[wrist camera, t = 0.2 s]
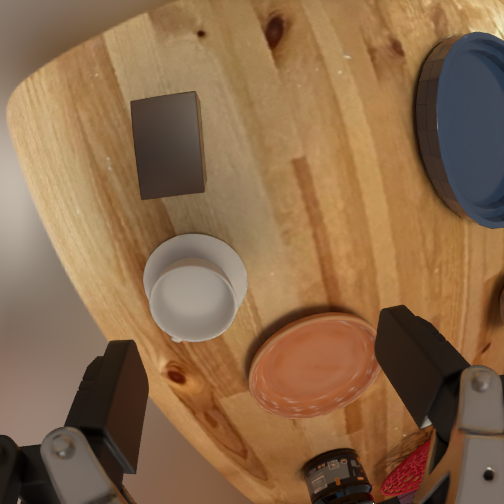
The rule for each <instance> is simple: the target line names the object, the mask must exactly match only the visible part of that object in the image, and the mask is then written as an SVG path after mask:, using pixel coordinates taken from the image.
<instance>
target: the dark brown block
mask: <svg viewBox="0 0 504 504" xmlns="http://www.w3.org/2000/svg"><path fill="white" fill-rule="evenodd" d="M130 104H131V117H132V128H133V138H134V148H135V157H136V165H137V173H138V181H139V188H140V195H141V200H147V199H154V198H162V197H170V196H178V195H186V194H194V193H203V192H205V188H206V182H207V175H206V165H205V154H204V143H203V131H202V119H201V106H200V100H199V98H198V95H197V93H196V91H192V92H184V93H177V94H170V95H163V96H157V97H151V98H145V99H139V100H134V101H131V102H130Z"/></svg>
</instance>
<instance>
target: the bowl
mask: <svg viewBox="0 0 504 504" xmlns="http://www.w3.org/2000/svg"><path fill="white" fill-rule="evenodd" d="M430 443H431V439H430V440H428V441H427V442H425V443H424V444H423V445H421V446H420V447H419V448H417V449H416V450H415V451H414V452H413V453H412V454H411V455H410V456H408V457H407V458H406V459H405V460H404V461H403V462H402V463H401V464H400V465H399V466H397V467H396V468H395V469H394V470H393V471H392V472H391V473H390V474H389V475H388V476H387V478H386V479H385V480H384V482H383V483H382V485H381V488H380V490H381V493H382V494H384V495H385V496H393V495H400V494H403V493H407V492H410V491H412V490H415V489H418V488H419V486H420V485H419V486H416V485H417V484H420V483H421V481H420V480H422V478H423V477H422V475H423V474H424V472H423V471H424V470H425V466H426V462H427V457H428V453H429V448H430ZM412 471H413V472H412ZM404 475H406V476H405V477H404V478H403V479H400V478H401V477H403V476H404ZM412 475H414V476H413V477H412V478H411V479H410V480H409V481H407V482H404V481H405V480H406V479H407V478H408V477H410V476H412ZM418 476H420V477H419V478H418V479H417V480H416V481H414V482H412V481H413V480H414V479H415V478H416V477H418ZM399 479H400V480H399ZM392 481H393V482H392ZM396 482H397V483H396ZM400 482H402V483H401V484H400V485H398V484H399V483H400ZM395 483H396V484H395ZM388 484H389V485H388ZM404 484H405V486H404V487H403V488H400V487H401V486H402V485H404ZM407 484H408V485H407ZM391 485H392V486H391ZM397 485H398V486H397ZM390 486H391V488H390V489H388V488H389V487H390ZM410 486H412V488H411V489H409V490H407V489H408V487H410ZM415 486H416V487H415ZM386 488H387V490H386V491H385V492H383V491H384V490H385V489H386ZM392 490H394V491H393V492H392V493H389V492H390V491H392ZM397 490H400V491H399V492H396V493H395V491H397ZM403 490H405V491H403Z"/></svg>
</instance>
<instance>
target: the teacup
mask: <svg viewBox="0 0 504 504" xmlns="http://www.w3.org/2000/svg"><path fill="white" fill-rule="evenodd" d="M143 283H144V289H145V293H146V295H147V298H148V300H149V308H150V312H151V315H152V317H153V319H154V321H155V322H156V324H157V325H158V326H159V327H160V328H161V329H162V330H163V331H164V332H166V333H167V334H169V335H170V336H171V340H172V341H174V342H178V343H179V342H181V340H183V341H189V342H201V341H206V340H210V339H213V338H215V337H217V336H219V335H220V334H222V333H223V332H224V331H226V330H227V329H228V328H229V326H230V325H231V324H232V322H233V320H234V318H235V315H236V311H237V310H238V308H239V307H240V306H241V304H242V302H243V300H244V298H245V295H246V291H247V283H248V280H247V273H246V269H245V266H244V264H243V262H242V260H241V259H240V257H239V256H238V254H237V253H236V252H235V251H234V250H233V249H232V248H231V247H230V246H229V245H227V244H226V243H224V242H223V241H221V240H219V239H217V238H214V237H211V236H208V235H203V234H184V235H179V236H176V237H173V238H171V239H169V240H167V241H165V242H164V243H162V244H161V245H159V246H158V247H157V248H156V249H155V250H154V251H153V253H152V254H151V256H150V257H149V259H148V261H147V263H146V266H145V269H144V276H143Z"/></svg>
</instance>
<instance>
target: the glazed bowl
mask: <svg viewBox="0 0 504 504" xmlns="http://www.w3.org/2000/svg"><path fill="white" fill-rule="evenodd" d="M416 115H417V133H418V138H419V144H420V149H421V154H422V157H423V160H424V163H425V166H426V169H427V172H428V175H429V177H430V179H431V181H432V183H433V185H434V187H435V188H436V190H437V192H438V194H439V196H440V197H441V198H442V199H443V200H444V202H445V203H446V204H447V205H448V206H449V208H450V209H452V210H453V211H455V212H456V213H458V214H459V215H460V216H462V217H464V218H466V219H468V220H470V221H472V222H475V223H477V224H479V225H481V226H484V227H488V228H491V229H495V228H504V41H503V40H501V39H499V38H497V37H495V36H493V35H491V34H489V33H483V32H473V33H469V34H464V35H460V36H456V37H453V38H449V39H446V40H444V41H443V42H442V43H440V44H439V45H438V46H437V47H435V48H434V50H433V51H432V53H431V54H430V56H429V57H428V59H427V61H426V62H425V64H424V67H423V70H422V74H421V77H420V80H419V84H418V93H417V101H416Z"/></svg>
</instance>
